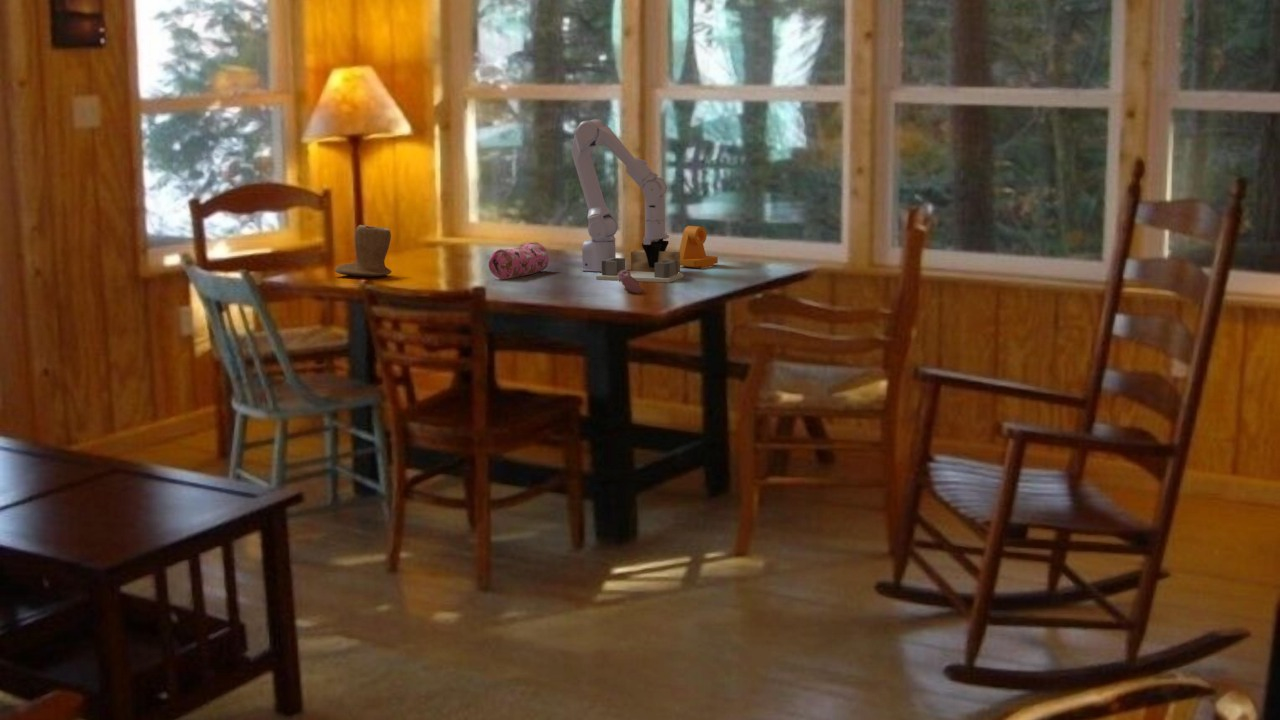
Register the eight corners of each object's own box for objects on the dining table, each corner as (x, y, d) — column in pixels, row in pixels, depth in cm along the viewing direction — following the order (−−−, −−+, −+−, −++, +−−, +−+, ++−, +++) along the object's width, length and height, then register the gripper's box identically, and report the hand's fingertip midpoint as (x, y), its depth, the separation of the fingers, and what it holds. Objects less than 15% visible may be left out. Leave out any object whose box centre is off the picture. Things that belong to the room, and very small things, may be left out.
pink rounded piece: (625, 294, 474) (613, 271, 473) (640, 286, 474) (628, 264, 473) (628, 299, 465) (616, 276, 463) (643, 291, 465) (631, 268, 463)
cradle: (596, 279, 492) (595, 261, 491) (611, 273, 503) (611, 256, 502) (668, 282, 484) (668, 264, 483) (683, 276, 495) (683, 259, 494)
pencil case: (523, 270, 514) (522, 240, 512) (551, 271, 510) (550, 241, 508) (486, 279, 495) (485, 249, 493) (514, 281, 491) (513, 250, 489)
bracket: (696, 269, 510) (695, 229, 507) (677, 267, 514) (677, 227, 512) (719, 265, 518) (718, 225, 515) (700, 263, 522) (700, 224, 520)
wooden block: (631, 272, 506) (630, 251, 505) (635, 270, 509) (635, 250, 508) (676, 274, 501) (675, 253, 500) (680, 272, 504) (680, 252, 503)
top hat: (400, 274, 506) (399, 223, 503) (377, 280, 496) (374, 228, 493) (358, 272, 513) (356, 221, 510) (334, 277, 502) (331, 225, 499)
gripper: (659, 223, 494) (659, 270, 497) (676, 217, 507) (676, 263, 510) (636, 222, 497) (636, 269, 499) (653, 217, 510) (654, 262, 512)
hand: (655, 266), depth 505 cm, fingers closed on wooden block, 3 cm apart
